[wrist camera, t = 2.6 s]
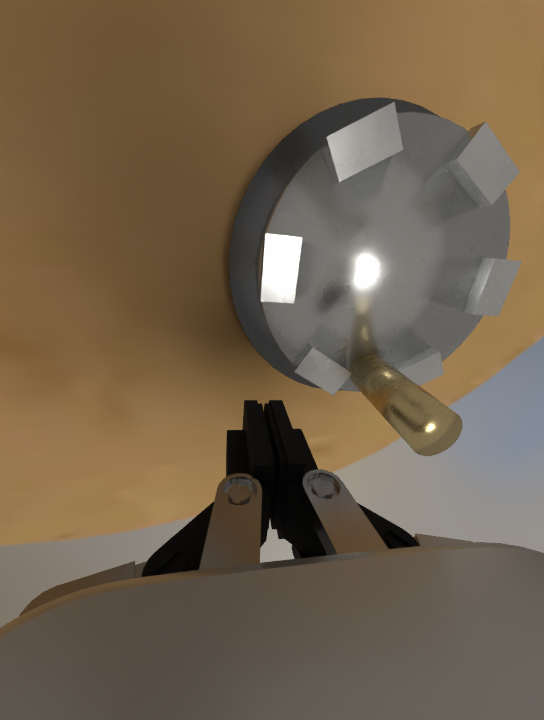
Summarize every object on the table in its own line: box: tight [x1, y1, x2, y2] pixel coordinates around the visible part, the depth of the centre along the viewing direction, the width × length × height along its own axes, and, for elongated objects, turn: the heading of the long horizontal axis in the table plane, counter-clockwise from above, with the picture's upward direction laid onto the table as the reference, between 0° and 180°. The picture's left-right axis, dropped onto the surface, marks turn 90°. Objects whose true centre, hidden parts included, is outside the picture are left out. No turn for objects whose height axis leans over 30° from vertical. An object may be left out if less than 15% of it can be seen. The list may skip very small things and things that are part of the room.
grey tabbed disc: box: [256, 102, 522, 456], centre depth 14 cm, size 15×15×9 cm
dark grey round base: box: [229, 98, 439, 390], centre depth 19 cm, size 18×18×2 cm
